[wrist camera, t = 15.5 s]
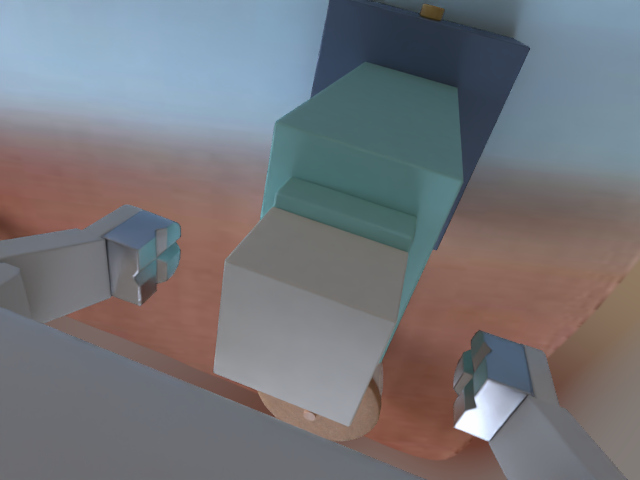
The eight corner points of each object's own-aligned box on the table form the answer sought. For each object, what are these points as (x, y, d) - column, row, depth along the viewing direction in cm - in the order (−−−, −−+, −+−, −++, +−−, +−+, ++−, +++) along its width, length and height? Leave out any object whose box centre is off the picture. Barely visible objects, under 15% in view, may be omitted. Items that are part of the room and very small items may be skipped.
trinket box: (385, 292, 35) (366, 373, 28) (397, 379, 40) (384, 468, 33) (275, 290, 39) (231, 362, 31) (298, 370, 44) (265, 449, 36)
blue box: (357, -15, 25) (333, -20, 20) (519, 27, 23) (537, 33, 18) (315, 170, 32) (289, 201, 27) (439, 210, 30) (436, 251, 25)
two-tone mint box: (359, 112, 26) (390, -202, 11) (435, 134, 25) (580, -164, 10) (271, 346, 23) (138, 371, 8) (355, 378, 22) (392, 474, 7)
